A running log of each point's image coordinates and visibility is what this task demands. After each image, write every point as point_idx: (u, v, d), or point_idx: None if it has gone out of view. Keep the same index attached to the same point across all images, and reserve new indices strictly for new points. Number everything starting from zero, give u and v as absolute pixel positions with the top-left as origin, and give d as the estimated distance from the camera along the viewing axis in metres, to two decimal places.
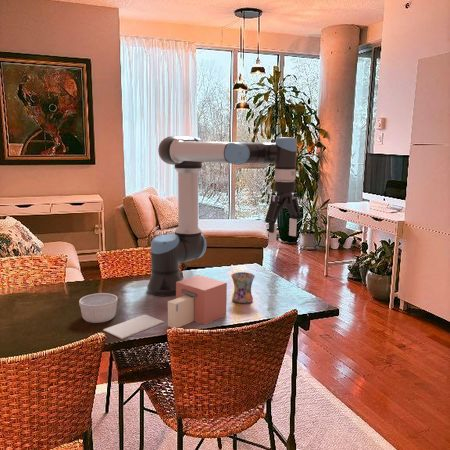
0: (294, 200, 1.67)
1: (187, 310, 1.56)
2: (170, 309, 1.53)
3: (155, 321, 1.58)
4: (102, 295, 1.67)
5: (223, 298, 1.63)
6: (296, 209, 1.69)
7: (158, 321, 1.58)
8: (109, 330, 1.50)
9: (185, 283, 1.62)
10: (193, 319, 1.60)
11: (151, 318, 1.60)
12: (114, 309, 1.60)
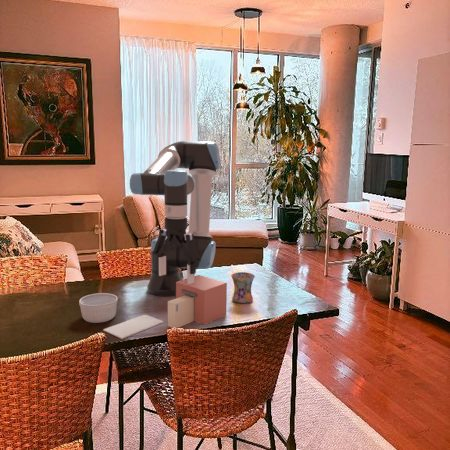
0: None
1: (187, 310, 1.56)
2: (170, 309, 1.53)
3: (155, 321, 1.58)
4: (102, 295, 1.67)
5: (223, 298, 1.63)
6: None
7: (158, 321, 1.58)
8: (109, 330, 1.50)
9: (185, 283, 1.62)
10: (193, 319, 1.60)
11: (151, 318, 1.60)
12: (114, 309, 1.60)
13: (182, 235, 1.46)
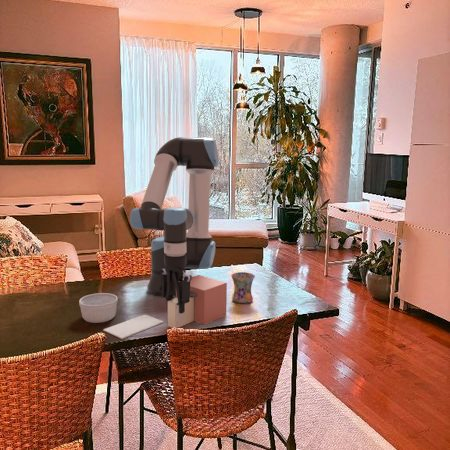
0: None
1: (187, 309, 1.56)
2: (170, 309, 1.53)
3: (155, 321, 1.58)
4: (102, 295, 1.67)
5: (223, 298, 1.63)
6: None
7: (158, 321, 1.58)
8: (109, 330, 1.50)
9: None
10: (193, 319, 1.59)
11: (151, 318, 1.60)
12: (114, 309, 1.60)
13: (181, 273, 1.49)
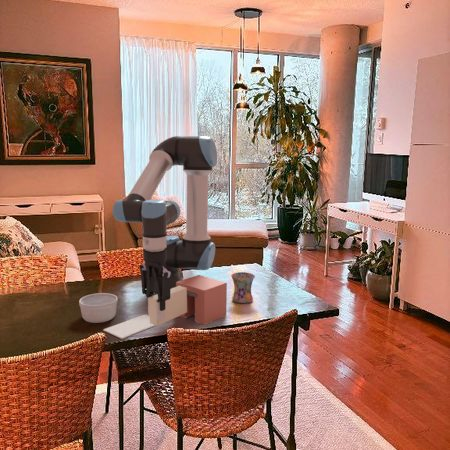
0: None
1: (169, 305, 1.50)
2: (151, 305, 1.46)
3: None
4: (102, 295, 1.67)
5: (223, 298, 1.63)
6: None
7: None
8: (109, 330, 1.50)
9: (185, 283, 1.62)
10: (176, 315, 1.53)
11: None
12: (114, 309, 1.60)
13: (161, 269, 1.41)
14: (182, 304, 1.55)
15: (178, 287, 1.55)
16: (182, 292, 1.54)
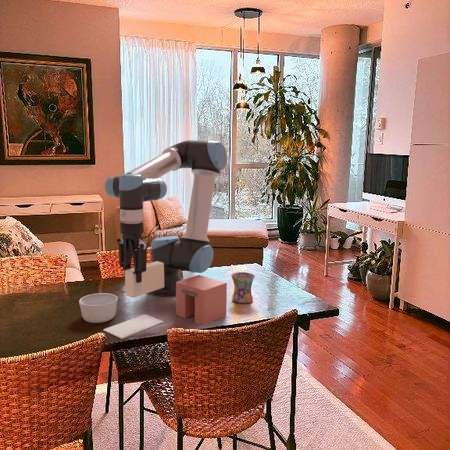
0: None
1: (146, 279, 1.53)
2: (128, 278, 1.50)
3: (155, 321, 1.58)
4: (102, 295, 1.67)
5: (223, 298, 1.63)
6: None
7: (158, 321, 1.58)
8: (109, 330, 1.50)
9: (185, 283, 1.62)
10: (153, 289, 1.56)
11: (151, 318, 1.60)
12: (114, 309, 1.60)
13: (137, 241, 1.45)
14: (159, 279, 1.58)
15: (155, 262, 1.59)
16: (159, 267, 1.57)
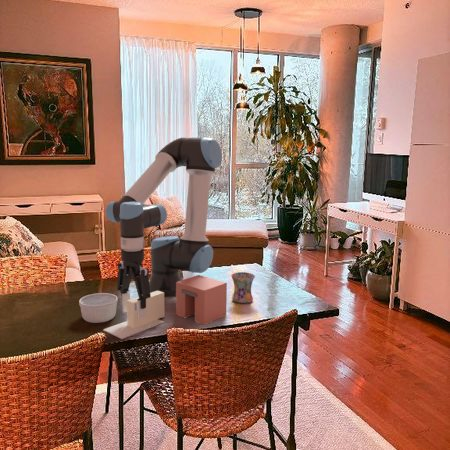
0: None
1: (147, 309, 1.55)
2: (129, 308, 1.52)
3: (155, 321, 1.58)
4: (102, 295, 1.67)
5: (223, 298, 1.63)
6: None
7: (158, 321, 1.58)
8: (109, 330, 1.50)
9: (185, 283, 1.62)
10: (154, 318, 1.58)
11: None
12: (114, 309, 1.60)
13: (138, 268, 1.47)
14: (160, 308, 1.60)
15: (156, 292, 1.61)
16: (160, 297, 1.59)
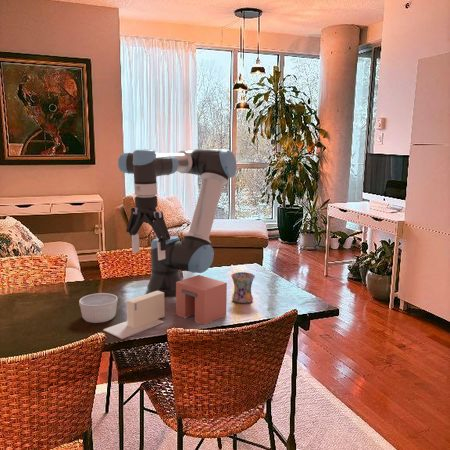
0: None
1: (147, 309, 1.55)
2: (129, 308, 1.52)
3: (155, 321, 1.58)
4: (102, 295, 1.67)
5: (223, 298, 1.63)
6: None
7: (158, 321, 1.58)
8: (109, 330, 1.50)
9: (185, 283, 1.62)
10: (154, 318, 1.58)
11: None
12: (114, 309, 1.60)
13: (152, 213, 1.51)
14: (160, 308, 1.60)
15: (156, 292, 1.61)
16: (160, 297, 1.59)
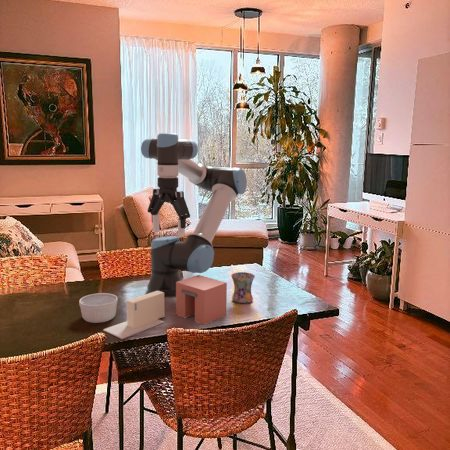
0: None
1: (147, 309, 1.55)
2: (129, 308, 1.52)
3: (155, 321, 1.58)
4: (102, 295, 1.67)
5: (223, 298, 1.63)
6: None
7: (158, 321, 1.58)
8: (109, 330, 1.50)
9: (185, 283, 1.62)
10: (154, 318, 1.58)
11: None
12: (114, 309, 1.60)
13: (173, 193, 1.61)
14: (160, 308, 1.60)
15: (156, 292, 1.61)
16: (160, 297, 1.59)
